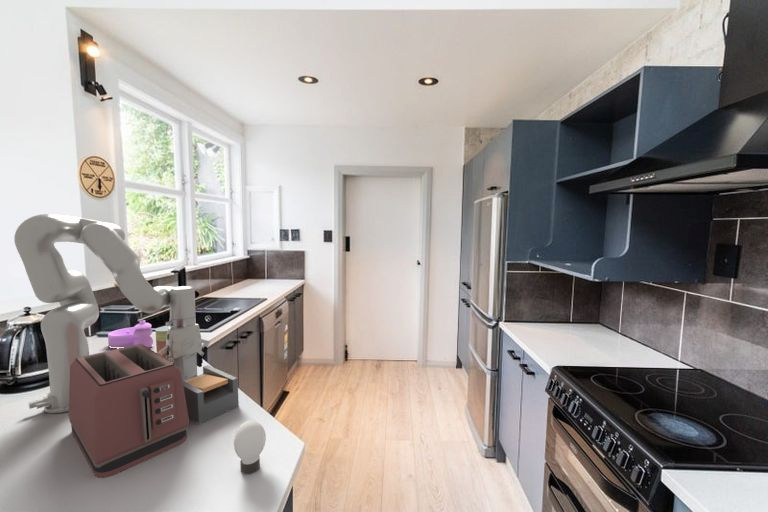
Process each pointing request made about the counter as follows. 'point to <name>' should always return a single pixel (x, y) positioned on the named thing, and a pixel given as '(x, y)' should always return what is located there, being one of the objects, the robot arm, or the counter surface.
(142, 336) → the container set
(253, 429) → the light bulb
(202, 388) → the rocker switch
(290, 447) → the counter surface
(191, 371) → the skincare box
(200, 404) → the grey open box
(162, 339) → the canned food
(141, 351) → the toaster
